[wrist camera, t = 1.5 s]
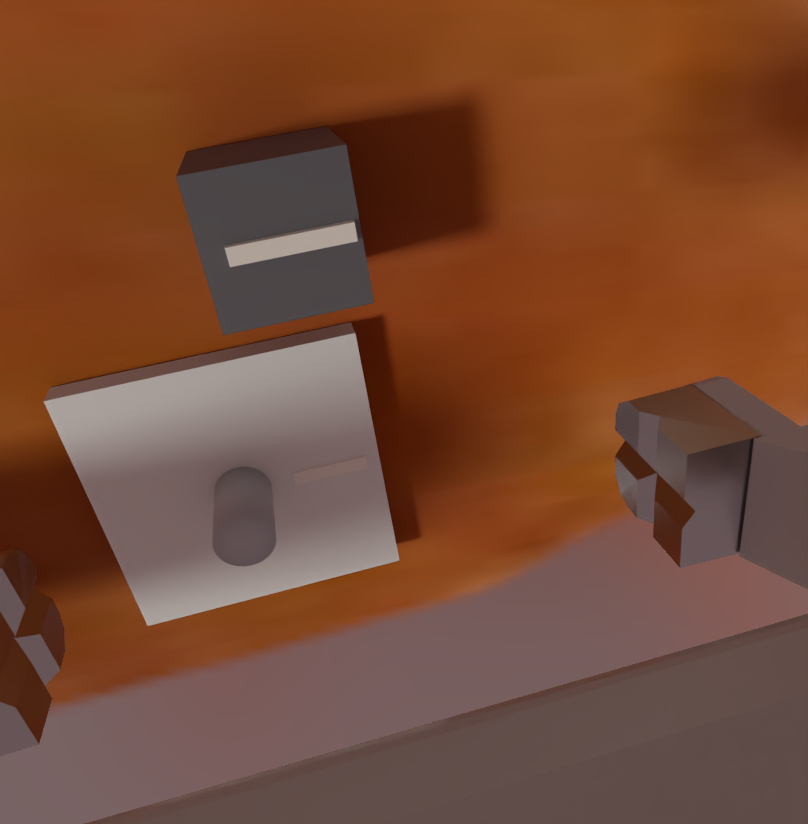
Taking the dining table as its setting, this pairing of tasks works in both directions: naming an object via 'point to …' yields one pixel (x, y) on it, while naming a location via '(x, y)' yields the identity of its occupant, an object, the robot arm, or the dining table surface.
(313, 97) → the dining table surface
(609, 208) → the dining table surface
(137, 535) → the shaft base
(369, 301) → the dark grey cube block
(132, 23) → the dining table surface
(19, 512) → the dining table surface
